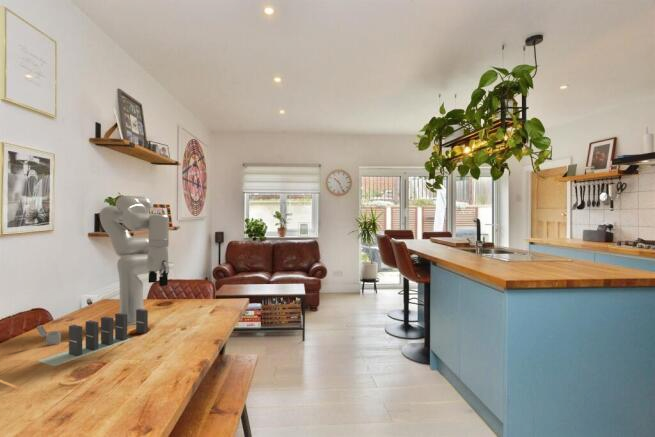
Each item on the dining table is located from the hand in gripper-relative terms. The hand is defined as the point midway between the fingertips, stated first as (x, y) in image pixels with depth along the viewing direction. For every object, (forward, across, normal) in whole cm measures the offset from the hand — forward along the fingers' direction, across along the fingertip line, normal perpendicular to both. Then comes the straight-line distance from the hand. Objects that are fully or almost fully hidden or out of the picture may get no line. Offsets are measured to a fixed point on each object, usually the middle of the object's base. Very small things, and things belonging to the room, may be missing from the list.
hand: (157, 284), depth 140 cm
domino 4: (+21, -3, -13) cm, 24 cm away
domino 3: (+21, -2, -18) cm, 27 cm away
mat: (+21, -1, -24) cm, 32 cm away
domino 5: (+21, -6, -4) cm, 22 cm away
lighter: (+22, -19, -32) cm, 43 cm away
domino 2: (+21, 0, -23) cm, 31 cm away
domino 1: (+21, +1, -28) cm, 35 cm away
